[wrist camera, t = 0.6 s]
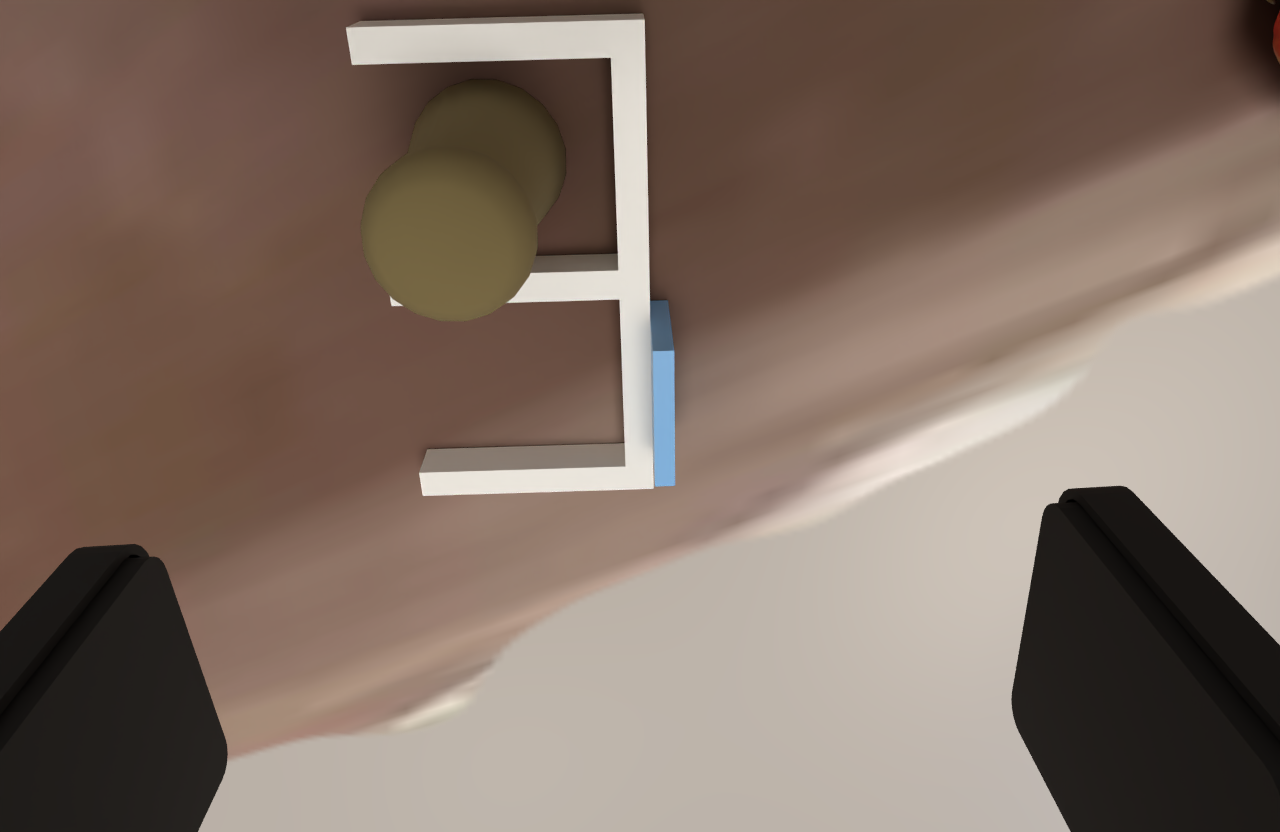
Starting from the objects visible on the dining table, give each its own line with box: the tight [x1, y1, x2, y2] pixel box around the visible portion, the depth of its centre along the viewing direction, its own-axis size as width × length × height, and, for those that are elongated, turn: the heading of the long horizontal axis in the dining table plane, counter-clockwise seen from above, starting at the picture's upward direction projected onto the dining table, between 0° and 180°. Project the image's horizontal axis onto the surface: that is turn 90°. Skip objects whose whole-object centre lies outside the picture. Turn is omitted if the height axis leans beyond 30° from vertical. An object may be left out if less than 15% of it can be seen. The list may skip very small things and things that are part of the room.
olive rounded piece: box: [361, 79, 566, 321], centre depth 31 cm, size 6×6×11 cm
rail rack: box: [346, 13, 675, 496], centre depth 36 cm, size 19×11×5 cm, turn 1°
